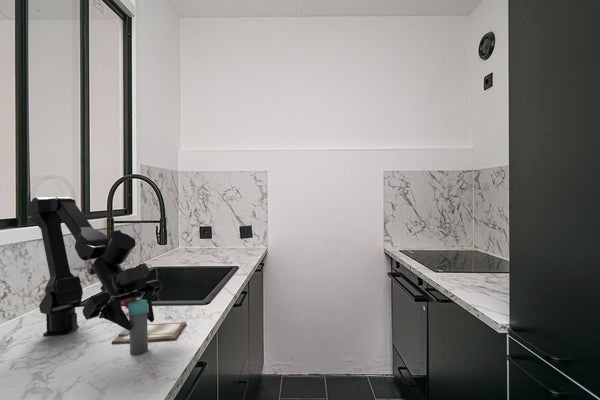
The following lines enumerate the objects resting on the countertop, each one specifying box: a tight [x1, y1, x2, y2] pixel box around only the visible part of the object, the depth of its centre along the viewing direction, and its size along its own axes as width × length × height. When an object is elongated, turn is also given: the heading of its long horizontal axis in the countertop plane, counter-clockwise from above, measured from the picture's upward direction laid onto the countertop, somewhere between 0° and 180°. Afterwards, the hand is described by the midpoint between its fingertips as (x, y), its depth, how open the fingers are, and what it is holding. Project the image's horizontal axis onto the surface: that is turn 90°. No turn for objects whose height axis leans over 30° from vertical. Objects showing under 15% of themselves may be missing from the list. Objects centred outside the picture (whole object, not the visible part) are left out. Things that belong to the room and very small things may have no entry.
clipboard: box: [111, 321, 187, 345], centre depth 98 cm, size 16×12×1 cm
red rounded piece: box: [122, 299, 137, 310], centre depth 119 cm, size 6×6×8 cm
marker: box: [127, 300, 149, 356], centre depth 86 cm, size 4×4×12 cm
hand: (142, 325), depth 86 cm, fingers open, 6 cm apart
